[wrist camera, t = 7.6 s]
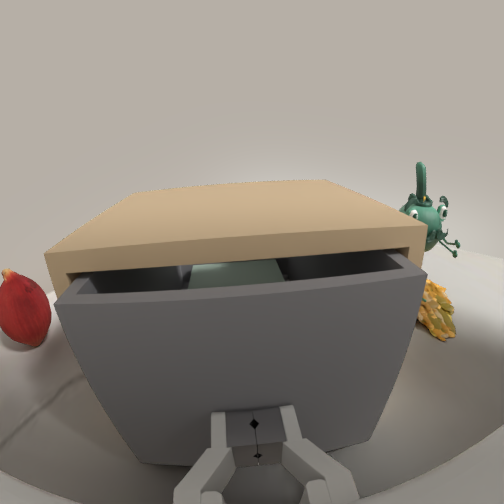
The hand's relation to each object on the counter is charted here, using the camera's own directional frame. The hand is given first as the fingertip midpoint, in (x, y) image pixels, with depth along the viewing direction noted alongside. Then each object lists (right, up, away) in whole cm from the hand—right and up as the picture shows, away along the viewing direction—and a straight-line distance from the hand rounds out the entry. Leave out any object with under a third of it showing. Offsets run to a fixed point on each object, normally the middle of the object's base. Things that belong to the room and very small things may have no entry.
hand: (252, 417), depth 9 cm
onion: (-20, -3, +11) cm, 23 cm away
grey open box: (-1, 0, +11) cm, 11 cm away
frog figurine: (+16, +2, +18) cm, 24 cm away
